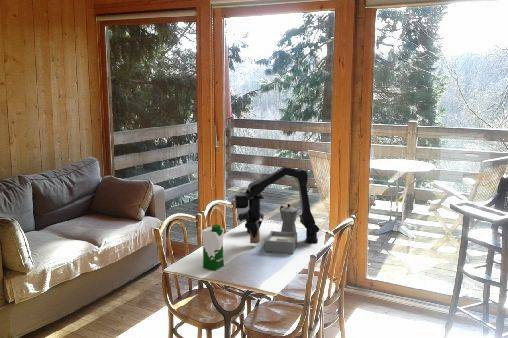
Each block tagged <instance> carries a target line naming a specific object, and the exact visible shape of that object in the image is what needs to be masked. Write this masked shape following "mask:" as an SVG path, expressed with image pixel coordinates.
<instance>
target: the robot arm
mask: <svg viewBox="0 0 508 338" xmlns="http://www.w3.org/2000/svg"><path fill="white" fill-rule="evenodd" d="M286 176H289V177H292V178H294V181H295V183H296V185H297V188H298V194H299V200H300V207H301V214H299V216H298V217H299V222H300V224H301V225H302V226H303V227H304V229H306V230H305V232H306V233H305V240H304V243H305V244H306V243H307V244H318V241H319V238H318V233H319V231H320V227H319V226H318V225H317V224H316V220H315V217H314V215H313V214H312V211H311V206H310V204H311V203H310V199H309V192H308V188H307V187H308V186H307V185H308V181H309V179H308V177H309V175H308V172H307V171H306V170H304V169H303V168H299V167H298V168H294V167H290V166H289V167H288V166H286V165H285V166H284V165H283V166H281V168H279V169H277V170H276V171H273V173H271V174H269V175H267V176H266V177H264V178H262V179H257V180H254V181H252V182H250V183H249V184H248V186H247V189H246V190H245V192H244V194H235V195H234V200H233V206H234V207H233V208H234V209H235V210H238V209H247V208H248V210H246V211H243V212H241V213H239V214H238V215H237V220H239V222H243V221H245V223H244V228H245V229H247V228H250V230H251V233H252V237H253V238H255V236H256V234H257V231H258V228H259V229H260V228H261V225H262V223H263V220H264V219H265V215H264V214H263V213H262V212H261V211H262V207H261V200H263V199H265V197H264V196H263V195H262V194H261V193H263V191H264V190H266V188H267V187H269V186H271V185H272V184H273V183H275V182H277V181H278V180H281V179H282V178H284V177H286ZM246 219H247V220H251V221H247V222H246Z"/></svg>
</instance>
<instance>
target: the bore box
mask: <svg viewBox="0 0 508 338" xmlns="http://www.w3.org/2000/svg"><path fill="white" fill-rule="evenodd" d="M264 243H265V244H264V245H265V247H264V248H265V249H264V251H265V253H270V254H284V255H287V254H288V255H294V253H295V250H296V248H297V245H298V232H297V231H296V232H281V231H275V230H270V232H269V234H268V235H267V237H266V239H265V242H264Z"/></svg>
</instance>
